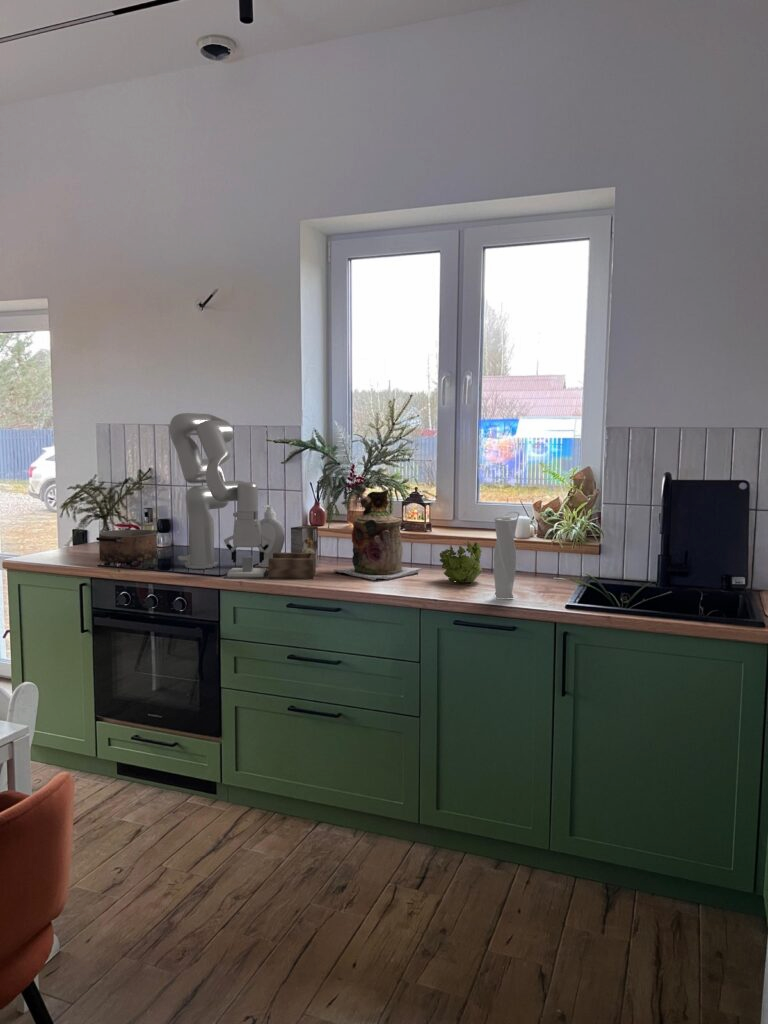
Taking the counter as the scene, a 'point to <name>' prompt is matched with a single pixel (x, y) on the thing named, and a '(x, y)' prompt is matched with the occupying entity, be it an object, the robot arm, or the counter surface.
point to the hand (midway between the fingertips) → (247, 562)
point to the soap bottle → (271, 534)
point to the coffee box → (305, 540)
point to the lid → (247, 569)
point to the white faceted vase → (505, 556)
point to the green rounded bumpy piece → (462, 563)
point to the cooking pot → (127, 545)
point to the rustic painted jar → (377, 541)
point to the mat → (248, 577)
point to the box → (292, 566)
